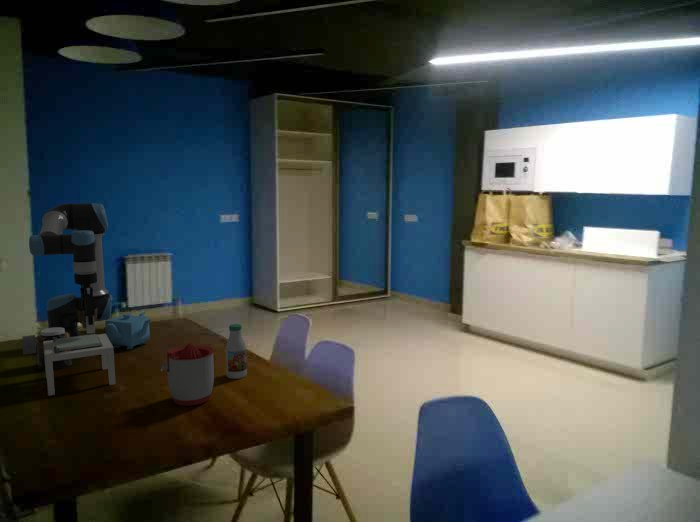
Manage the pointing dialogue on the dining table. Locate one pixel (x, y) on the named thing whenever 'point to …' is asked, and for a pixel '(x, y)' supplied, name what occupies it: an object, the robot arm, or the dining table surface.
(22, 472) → the dining table surface
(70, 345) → the trapdoor
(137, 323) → the teakettle
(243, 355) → the milk bottle
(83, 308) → the cup
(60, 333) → the jar
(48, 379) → the frame
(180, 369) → the citrus juicer
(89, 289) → the robot arm
